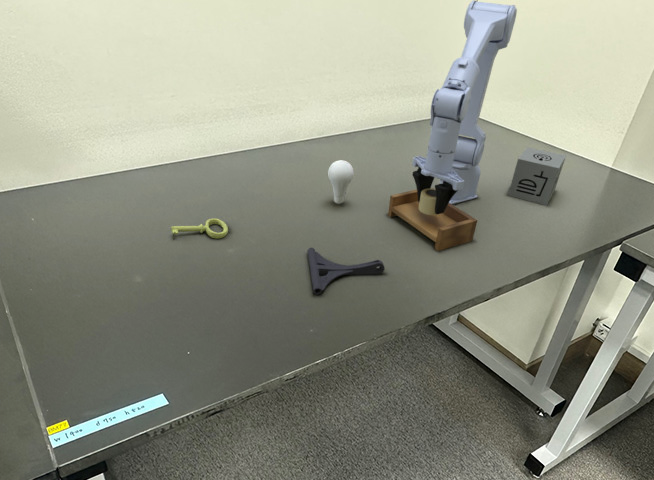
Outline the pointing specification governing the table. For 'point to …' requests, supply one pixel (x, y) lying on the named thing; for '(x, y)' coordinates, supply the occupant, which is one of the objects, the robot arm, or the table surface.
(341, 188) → the lightbulb
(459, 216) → the shelf
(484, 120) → the table surface
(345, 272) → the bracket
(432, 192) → the tape roll
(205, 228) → the key
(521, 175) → the icon cube
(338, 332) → the table surface
